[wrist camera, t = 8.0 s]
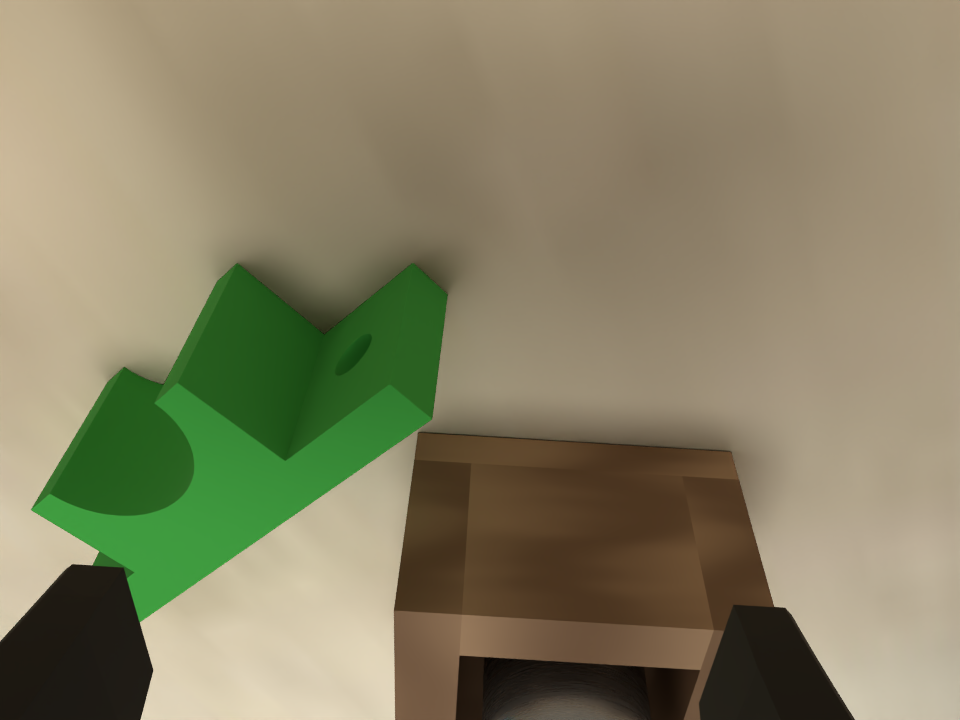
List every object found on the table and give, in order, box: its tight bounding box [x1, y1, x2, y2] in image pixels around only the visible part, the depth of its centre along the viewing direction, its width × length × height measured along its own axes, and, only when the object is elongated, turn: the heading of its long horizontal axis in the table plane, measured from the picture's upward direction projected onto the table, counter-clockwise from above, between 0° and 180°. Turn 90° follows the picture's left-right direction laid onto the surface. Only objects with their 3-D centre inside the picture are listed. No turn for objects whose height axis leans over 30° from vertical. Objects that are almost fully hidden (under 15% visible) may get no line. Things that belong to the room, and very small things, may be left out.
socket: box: [394, 433, 774, 720], centre depth 23 cm, size 8×8×6 cm
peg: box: [482, 657, 651, 720], centre depth 21 cm, size 4×4×8 cm
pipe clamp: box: [31, 263, 448, 622], centre depth 20 cm, size 11×4×5 cm, turn 133°
